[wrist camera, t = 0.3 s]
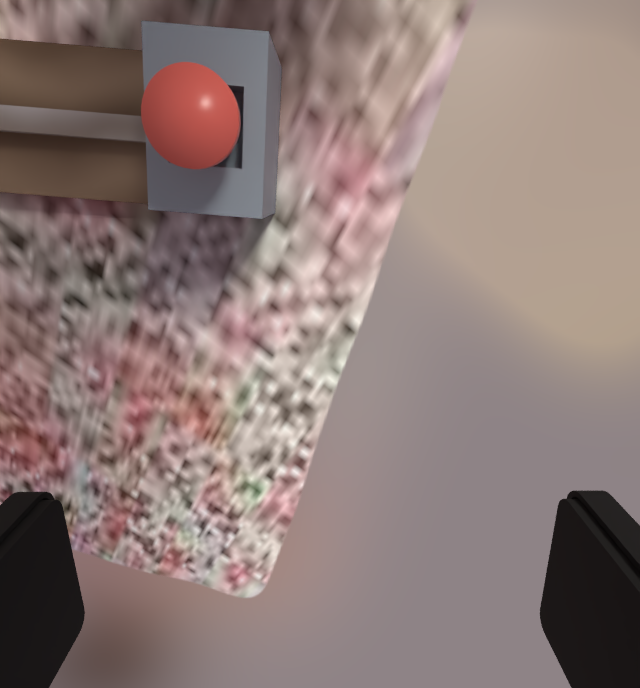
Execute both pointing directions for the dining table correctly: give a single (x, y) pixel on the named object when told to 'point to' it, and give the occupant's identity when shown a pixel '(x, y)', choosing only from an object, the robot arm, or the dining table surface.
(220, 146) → the button
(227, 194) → the end cabinet
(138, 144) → the board
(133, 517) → the dining table surface
